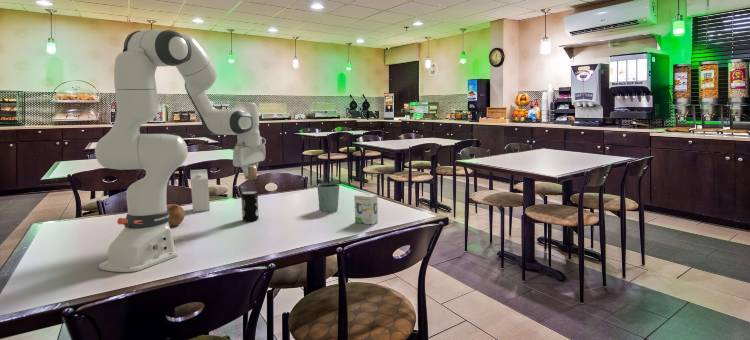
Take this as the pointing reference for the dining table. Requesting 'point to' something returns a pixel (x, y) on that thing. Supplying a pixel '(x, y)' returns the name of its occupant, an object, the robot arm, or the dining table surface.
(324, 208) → the grey green pot
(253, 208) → the beverage can
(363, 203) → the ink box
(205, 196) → the milk carton
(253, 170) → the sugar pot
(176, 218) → the onion
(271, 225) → the dining table surface
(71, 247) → the dining table surface
